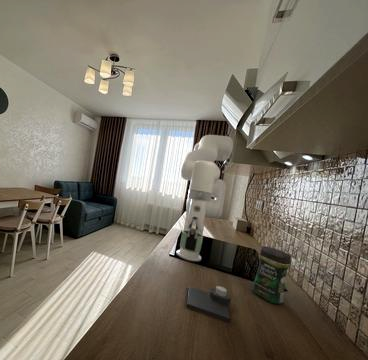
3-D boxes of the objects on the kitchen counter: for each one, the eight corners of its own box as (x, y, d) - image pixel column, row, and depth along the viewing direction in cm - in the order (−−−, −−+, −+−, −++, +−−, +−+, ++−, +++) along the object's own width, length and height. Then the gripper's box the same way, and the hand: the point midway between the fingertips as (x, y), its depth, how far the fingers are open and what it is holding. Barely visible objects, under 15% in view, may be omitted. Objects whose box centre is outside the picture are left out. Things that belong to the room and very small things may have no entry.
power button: (215, 290, 73) (216, 284, 73) (225, 293, 72) (226, 288, 72) (215, 295, 70) (216, 289, 70) (226, 298, 69) (227, 292, 69)
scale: (188, 288, 77) (190, 280, 77) (227, 300, 73) (229, 292, 73) (186, 307, 65) (188, 297, 65) (233, 323, 61) (235, 313, 61)
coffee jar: (248, 291, 83) (257, 244, 82) (259, 288, 87) (268, 244, 86) (275, 307, 74) (285, 254, 74) (286, 303, 78) (296, 254, 78)
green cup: (180, 243, 79) (183, 229, 79) (200, 248, 77) (203, 233, 77) (178, 248, 73) (181, 233, 73) (200, 254, 70) (203, 238, 70)
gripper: (211, 200, 65) (201, 257, 65) (210, 197, 81) (201, 243, 82) (186, 195, 67) (176, 250, 68) (189, 193, 84) (181, 238, 84)
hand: (190, 246), depth 75 cm, fingers closed on green cup, 7 cm apart
